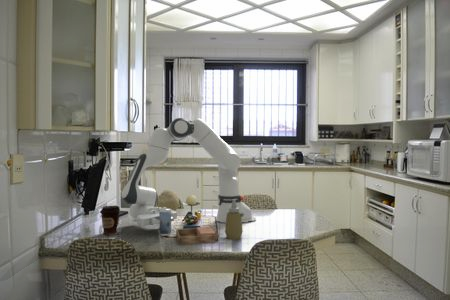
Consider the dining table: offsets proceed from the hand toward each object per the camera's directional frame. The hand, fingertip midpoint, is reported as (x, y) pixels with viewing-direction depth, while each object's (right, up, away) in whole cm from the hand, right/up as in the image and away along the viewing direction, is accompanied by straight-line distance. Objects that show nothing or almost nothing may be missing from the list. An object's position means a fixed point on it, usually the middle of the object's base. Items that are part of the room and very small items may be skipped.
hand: (166, 220), depth 146 cm
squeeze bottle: (+31, -8, -4) cm, 33 cm away
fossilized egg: (-7, -6, +44) cm, 45 cm away
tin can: (-1, -7, +1) cm, 7 cm away
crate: (+15, -7, -5) cm, 17 cm away
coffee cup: (-27, -7, +3) cm, 28 cm away
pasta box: (+19, -7, -4) cm, 20 cm away
